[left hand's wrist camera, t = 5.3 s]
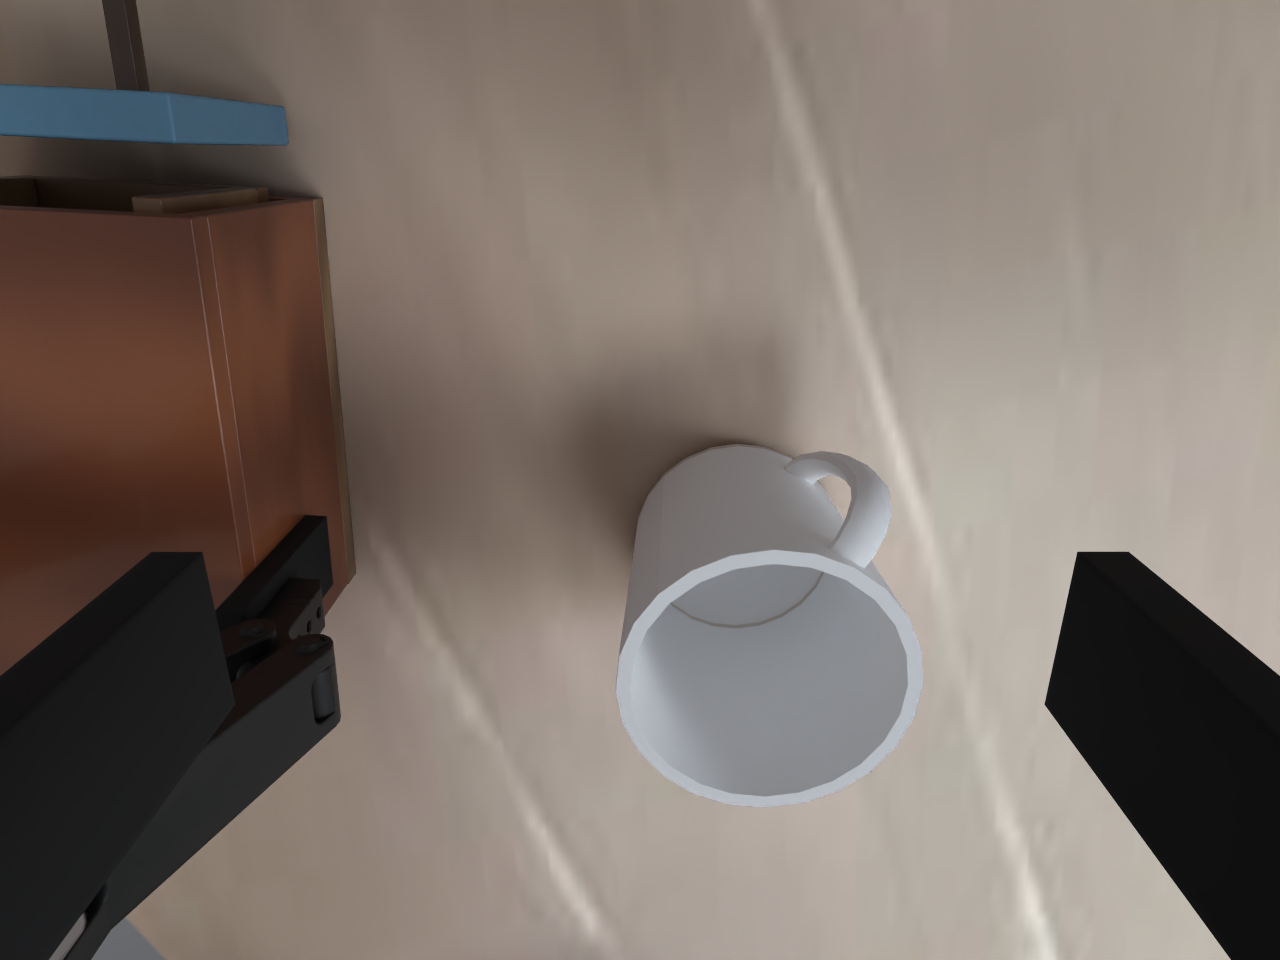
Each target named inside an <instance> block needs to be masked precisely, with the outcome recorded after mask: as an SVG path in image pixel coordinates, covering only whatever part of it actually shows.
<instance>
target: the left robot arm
mask: <svg viewBox="0 0 1280 960" xmlns="http://www.w3.org/2000/svg"><path fill="white" fill-rule="evenodd" d="M234 706H235V701H234V696H233V691H232V687H231V682H230V677H229V673H228V668H227V664H226V659H225V654H224V650H223V645H222V640H221V636H220V631H219V626H218V622H217V617H216V612H215V608H214V603H213V598H212V594H211V589H210V584H209V580H208V575H207V571H206V566H205V561H204V557H203V552H151V553H149V554H148V555H147V556H146V557H145V558H143V559H142V560H141V561H140V562H138V563H137V564H136V565H135V566H134V567H132V568H131V569H130V570H129V571H128V572H126V573H125V574H124V575H123V576H121V577H120V578H119V579H118V580H117V581H115V582H114V583H113V584H112V585H110V586H109V587H108V588H107V589H106V590H104V591H103V592H102V593H101V594H99V595H98V596H97V597H96V598H95V599H93V600H92V601H91V602H90V603H89V604H87V605H86V606H85V607H84V608H82V609H81V610H80V611H79V612H78V613H76V614H75V615H74V616H73V617H71V618H70V619H69V620H68V621H67V622H65V623H64V624H63V625H62V626H61V627H59V628H58V629H57V630H56V631H54V632H53V633H52V634H51V635H50V636H48V637H47V638H46V639H45V640H43V641H42V642H41V643H40V644H39V645H37V646H36V647H35V648H34V649H33V650H31V651H30V652H29V653H28V654H26V655H25V656H24V657H23V658H22V659H20V660H19V661H18V662H17V663H15V664H14V665H13V666H12V667H11V668H9V669H8V670H7V671H6V672H5V673H3V674H2V675H1V676H0V960H49V959H50V958H51V956H52V955H53V953H54V952H55V951H56V949H57V948H58V947H59V945H60V944H61V942H62V941H63V940H64V938H65V937H66V936H67V934H68V933H69V932H70V930H71V929H72V927H73V926H74V925H75V923H76V922H77V921H78V919H79V918H80V916H81V915H82V914H83V912H84V911H85V910H86V908H87V907H88V906H89V904H90V903H91V901H92V900H93V899H94V897H95V896H96V895H97V893H98V892H99V890H100V889H101V888H102V886H103V885H104V884H105V882H106V881H107V880H108V878H109V877H110V875H111V874H112V873H113V871H114V870H115V869H116V867H117V866H118V864H119V863H120V862H121V860H122V859H123V858H124V856H125V855H126V854H127V852H128V851H129V849H130V848H131V847H132V845H133V844H134V843H135V841H136V840H137V838H138V837H139V836H140V834H141V833H142V832H143V830H144V829H145V828H146V826H147V825H148V823H149V822H150V821H151V819H152V818H153V817H154V815H155V814H156V812H157V811H158V810H159V808H160V807H161V806H162V804H163V803H164V802H165V800H166V799H167V797H168V796H169V795H170V793H171V792H172V791H173V789H174V788H175V786H176V785H177V784H178V782H179V781H180V780H181V778H182V777H183V776H184V774H185V773H186V771H187V770H188V769H189V767H190V766H191V765H192V763H193V762H194V760H195V759H196V758H197V756H198V755H199V754H200V752H201V751H202V749H203V748H204V747H205V745H206V744H207V743H208V741H209V740H210V739H211V737H212V736H213V734H214V733H215V732H216V730H217V729H218V728H219V726H220V725H221V723H222V722H223V721H224V719H225V718H226V717H227V715H228V714H229V713H230V711H231V710H232V708H233V707H234ZM1045 706H1046V707H1047V708H1048V710H1049V711H1050V713H1051V714H1052V715H1053V717H1054V718H1055V719H1056V721H1057V722H1058V723H1059V725H1060V726H1061V728H1062V729H1063V730H1064V732H1065V733H1066V734H1067V736H1068V737H1069V739H1070V740H1071V741H1072V743H1073V744H1074V745H1075V747H1076V748H1077V749H1078V751H1079V752H1080V754H1081V755H1082V756H1083V758H1084V759H1085V760H1086V762H1087V763H1088V765H1089V766H1090V767H1091V769H1092V770H1093V771H1094V773H1095V774H1096V776H1097V777H1098V778H1099V780H1100V781H1101V782H1102V784H1103V785H1104V786H1105V788H1106V789H1107V791H1108V792H1109V793H1110V795H1111V796H1112V797H1113V799H1114V800H1115V802H1116V803H1117V804H1118V806H1119V807H1120V808H1121V810H1122V811H1123V812H1124V814H1125V815H1126V817H1127V818H1128V819H1129V821H1130V822H1131V823H1132V825H1133V826H1134V828H1135V829H1136V830H1137V832H1138V833H1139V834H1140V836H1141V837H1142V838H1143V840H1144V841H1145V843H1146V844H1147V845H1148V847H1149V848H1150V849H1151V851H1152V852H1153V854H1154V855H1155V856H1156V858H1157V859H1158V860H1159V862H1160V863H1161V864H1162V866H1163V867H1164V869H1165V870H1166V871H1167V873H1168V874H1169V875H1170V877H1171V878H1172V880H1173V881H1174V882H1175V884H1176V885H1177V886H1178V888H1179V889H1180V890H1181V892H1182V893H1183V895H1184V896H1185V897H1186V899H1187V900H1188V901H1189V903H1190V904H1191V906H1192V907H1193V908H1194V910H1195V911H1196V912H1197V914H1198V915H1199V916H1200V918H1201V919H1202V921H1203V922H1204V923H1205V925H1206V926H1207V927H1208V929H1209V930H1210V932H1211V933H1212V934H1213V936H1214V937H1215V938H1216V940H1217V941H1218V942H1219V944H1220V945H1221V947H1222V948H1223V949H1224V951H1225V952H1226V953H1227V955H1228V956H1229V958H1230V959H1231V960H1280V676H1279V675H1278V674H1277V673H1275V672H1274V671H1273V670H1272V669H1271V668H1269V667H1268V666H1267V665H1266V664H1265V663H1263V662H1262V661H1261V660H1260V659H1258V658H1257V657H1256V656H1255V655H1254V654H1252V653H1251V652H1250V651H1249V650H1247V649H1246V648H1245V647H1244V646H1243V645H1241V644H1240V643H1239V642H1238V641H1237V640H1235V639H1234V638H1233V637H1232V636H1230V635H1229V634H1228V633H1227V632H1226V631H1224V630H1223V629H1222V628H1221V627H1219V626H1218V625H1217V624H1216V623H1215V622H1213V621H1212V620H1211V619H1210V618H1209V617H1207V616H1206V615H1205V614H1204V613H1202V612H1201V611H1200V610H1199V609H1198V608H1196V607H1195V606H1194V605H1193V604H1191V603H1190V602H1189V601H1188V600H1187V599H1185V598H1184V597H1183V596H1182V595H1181V594H1179V593H1178V592H1177V591H1176V590H1174V589H1173V588H1172V587H1171V586H1170V585H1168V584H1167V583H1166V582H1165V581H1163V580H1162V579H1161V578H1160V577H1159V576H1157V575H1156V574H1155V573H1154V572H1152V571H1151V570H1150V569H1149V568H1148V567H1146V566H1145V565H1144V564H1143V563H1142V562H1140V561H1139V560H1138V559H1137V558H1135V557H1134V556H1133V555H1132V554H1131V553H1129V552H1077V557H1076V561H1075V566H1074V571H1073V575H1072V580H1071V584H1070V589H1069V594H1068V598H1067V603H1066V608H1065V612H1064V617H1063V622H1062V626H1061V631H1060V636H1059V640H1058V645H1057V650H1056V654H1055V659H1054V663H1053V668H1052V673H1051V677H1050V682H1049V687H1048V691H1047V696H1046V701H1045Z"/></svg>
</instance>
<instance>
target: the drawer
mask: <svg viewBox="0 0 1280 960" xmlns="http://www.w3.org/2000/svg"><path fill="white" fill-rule="evenodd" d="M102 3H103V9H104V15H105V21H106V27H107V33H108V39H109V45H110V51H111V57H112V63H113V69H114V75H115V80H116V86H117V90H113V89H93V88H73V87H53V86H34V85H14V84H0V135H6V136H26V137H46V138H66V139H86V140H106V141H126V142H146V143H166V144H213V145H281V146H286V145H288V133H287V123H286V113H285V108H284V107H282V106H275V105H267V104H259V103H251V102H243V101H234V100H226V99H218V98H210V97H202V96H193V95H185V94H177V93H169V92H152V91H150V90H149V84H148V77H147V71H146V64H145V58H144V51H143V45H142V38H141V32H140V25H139V19H138V12H137V6H136V0H102ZM263 202H269V194H268V188H266V187H250V186H229V185H209V184H189V183H169V182H149V181H129V180H109V179H89V178H69V177H49V176H28V175H27V176H4V177H0V205H4V206H24V207H44V208H64V209H85V210H105V211H125V212H145V213H165V214H181V213H188V212H196V211H203V210H210V209H218V208H225V207H233V206H240V205H248V204H255V203H263Z"/></svg>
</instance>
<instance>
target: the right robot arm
mask: <svg viewBox="0 0 1280 960" xmlns="http://www.w3.org/2000/svg"><path fill="white" fill-rule="evenodd" d="M333 584H334V583H333V574H332V564H331V554H330V544H329V534H328V524H327V516H317V515H305V516H304V517H303V518H302V519H301V520H300V521H299V522H298V523H297V524H296V526H295V527H294V528H293V529H292V530H291V531H290V532H289V533H288V534H287V535H286V536H285V537H284V538H283V539H282V540H281V542H280V543H279V544H278V545H277V546H276V547H275V548H274V549H273V550H272V551H271V552H270V553H269V554H268V555H267V556H266V558H265V559H264V560H263V561H262V562H261V563H260V564H259V565H258V566H257V567H256V568H255V569H254V570H253V571H252V572H251V573H250V575H249V576H248V577H247V578H246V579H245V580H243V581H242V582H241V584H240V585H239V586H238V587H237V588H236V589H235V590H234V591H233V592H232V593H231V594H230V595H229V596H228V597H227V598H226V599H225V601H224V602H223V603H222V604H221V605H220V606H219V607H218V608H217V609H216V610H215V612H216V617H217V622H218V626H219V631H220V636H221V640H222V645H223V650H224V654H225V659H226V664H227V668H228V673H229V677H230V682H231V687H232V691H233V696H234V701H235V706H234V707H233V708H232V710H231V711H230V713H229V714H228V715H227V717H226V718H225V719H224V721H223V722H222V723H221V725H220V726H219V728H218V729H217V730H216V732H215V733H214V734H213V736H212V737H211V739H210V740H209V741H208V743H207V744H206V745H205V747H204V748H203V749H202V751H201V752H200V754H199V755H198V756H197V758H196V759H195V760H194V762H193V763H192V765H191V766H190V767H189V769H188V770H187V771H186V773H185V774H184V776H183V777H182V778H181V780H180V781H179V782H178V784H177V785H176V786H175V788H174V789H173V791H172V792H171V793H170V795H169V796H168V797H167V799H166V800H165V802H164V803H163V804H162V806H161V807H160V808H159V810H158V811H157V812H156V814H155V815H154V817H153V818H152V819H151V821H150V822H149V823H148V825H147V826H146V828H145V829H144V830H143V832H142V833H141V834H140V836H139V837H138V838H137V840H136V841H135V843H134V844H133V845H132V847H131V848H130V849H129V851H128V852H127V854H126V855H125V856H124V858H123V859H122V860H121V862H120V863H119V864H118V866H117V867H116V869H115V870H114V871H113V873H112V874H111V875H110V877H109V878H108V880H107V881H106V882H105V884H104V885H103V886H102V888H101V889H100V890H99V892H98V893H97V895H96V896H95V897H94V899H93V900H92V901H91V903H90V904H89V906H88V907H87V908H86V910H85V911H84V912H83V914H82V915H81V916H80V918H79V919H78V921H77V922H76V923H75V925H74V926H73V927H72V929H71V930H70V932H69V933H68V934H67V936H66V937H65V938H64V940H63V941H62V942H61V944H60V945H59V947H58V948H57V949H56V951H55V952H54V953H53V955H52V956H51V958H50V959H49V960H91V959H92V957H93V956H94V954H95V953H96V951H97V950H98V948H99V947H100V945H101V944H102V942H103V941H104V939H105V938H106V936H107V935H108V933H109V932H110V930H111V929H112V928H113V927H114V926H116V925H117V924H118V923H119V922H120V921H121V920H122V919H123V918H124V917H126V916H127V915H128V914H129V913H130V912H131V911H132V910H133V909H134V908H136V907H137V906H138V905H139V904H140V903H141V902H142V901H143V900H144V899H145V898H147V897H148V896H149V895H150V894H151V893H152V892H153V891H154V890H155V889H157V888H158V887H159V886H160V885H161V884H162V883H163V882H164V881H165V880H166V879H168V878H169V877H170V876H171V875H172V874H173V873H174V872H175V871H176V870H178V869H179V868H180V867H181V866H182V865H183V864H184V863H185V862H186V861H187V860H189V859H190V858H191V857H192V856H193V855H194V854H195V853H196V852H197V851H199V850H200V849H201V848H202V847H203V846H204V845H205V844H206V843H207V842H208V841H210V840H211V839H212V838H213V837H214V836H215V835H216V834H217V833H218V832H220V831H221V830H222V829H223V828H224V827H225V826H226V825H227V824H228V823H229V822H231V821H232V820H233V819H234V818H235V817H236V816H237V815H238V814H239V813H241V812H242V811H243V810H244V809H245V808H246V807H247V806H248V805H249V804H250V803H252V802H253V801H254V800H255V799H256V798H257V797H258V796H259V795H260V794H262V793H263V792H264V791H265V790H266V789H267V788H268V787H269V786H270V785H271V784H273V783H274V782H275V781H276V780H277V779H278V778H279V777H280V776H281V775H283V774H284V773H285V772H286V771H287V770H288V769H289V768H290V767H291V766H293V765H294V764H295V763H296V762H297V761H298V760H299V759H300V758H301V757H302V756H304V755H305V754H306V753H307V752H308V751H309V750H310V749H311V748H312V747H314V746H315V745H316V744H317V743H318V742H319V741H320V740H321V739H322V738H323V737H325V736H326V735H327V734H328V733H329V732H330V731H331V730H332V729H333V728H335V727H336V725H337V724H338V723H339V722H340V718H341V713H340V703H339V694H338V684H337V674H336V665H335V656H334V646H333V641H332V639H331V638H330V637H328V636H326V635H323V634H320V633H321V631H322V630H323V628H324V627H325V619H324V610H323V600H322V599H323V598H324V596H325V595H326V594H327V592H328V591H329V589H330V588H331V587H332V585H333Z"/></svg>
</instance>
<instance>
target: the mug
mask: <svg viewBox="0 0 1280 960" xmlns="http://www.w3.org/2000/svg"><path fill="white" fill-rule="evenodd" d="M825 476H838V477H840V478H842V479H843V480H845V481H846V482H847V483H848V485H849V486H850V487H851V503H850V506H849V509H848V513H847V516H846V519H845V520H844V518H843V517H842V515H841V514H840V512H839V511H838V509H837V508H836V506H835V505H834V503H833V502H832V500H831V498H830V497H829V495H828V494H827V493H826V491H825V489H824V488H823V487H822V485H821V484H820V483H819V482H818V480H819V479H821V478H823V477H825ZM891 515H892V512H891V502H890V493H889V489H888V486H887V485H886V484H885V483H884V481H883V480H882V479H881V478H880V477H879V475H878V474H877V473H876V472H875V471H874V470H872V469H871V468H870V467H869V466H868V465H866V464H864V463H862V462H860V461H858V460H856V459H854V458H852V457H850V456H847V455H843V454H840V453H833V452H825V451H819V452H814V453H808V454H803V455H800V456H798V457H797V458H795V459H793V458H792V457H790V456H789V455H786V454H783V453H781V452H778V451H775V450H773V449H770V448H767V447H765V446H756V445H746V444H731V445H724V446H717V447H711V448H708V449H705V450H703V451H700V452H698V453H696V454H693V455H691V456H688V457H686V458H684V459H683V460H681V461H680V462H679V463H677V464H676V465H675V466H673V467H672V468H671V469H669V470H668V471H667V472H665V473H664V474H663V475H662V477H661V478H660V479H659V480H658V482H657V483H656V484H655V485H654V487H653V488H652V489H651V491H650V492H649V493H648V495H647V497H646V500H645V502H644V504H643V507H642V509H641V512H640V514H639V516H638V525H637V532H636V539H635V546H634V553H633V560H632V567H631V574H630V581H629V588H628V595H627V602H626V610H625V617H624V624H623V631H622V638H621V645H620V652H619V661H618V670H617V680H616V694H617V698H618V703H619V708H620V713H621V718H622V723H623V724H624V726H625V728H626V730H627V732H628V733H629V735H630V737H631V739H632V741H633V743H634V744H635V746H636V748H637V750H638V752H639V753H640V754H641V755H642V756H643V757H644V758H645V759H646V760H647V761H648V762H649V763H650V764H651V765H652V766H653V767H654V768H655V769H656V770H657V771H658V772H659V773H660V774H661V775H662V776H664V777H666V778H668V779H669V780H671V781H673V782H674V783H676V784H678V785H679V786H681V787H683V788H685V789H686V790H688V791H690V792H691V793H693V794H696V795H700V796H703V797H706V798H709V799H712V800H716V801H719V802H722V803H725V804H731V805H742V806H753V807H773V806H782V805H790V804H799V803H804V802H807V801H810V800H813V799H816V798H819V797H822V796H825V795H828V794H831V793H834V792H837V791H839V790H841V789H842V788H844V787H846V786H848V785H849V784H851V783H853V782H854V781H856V780H858V779H859V778H861V777H863V776H864V775H866V774H868V773H869V772H871V771H872V770H873V769H874V768H875V767H876V766H877V765H878V764H879V763H880V762H881V761H882V760H883V759H884V758H885V757H886V756H887V755H888V754H889V753H890V752H891V751H892V750H893V749H895V748H896V746H897V744H898V743H899V741H900V740H901V738H902V736H903V735H904V733H905V731H906V730H907V728H908V727H909V725H910V723H911V722H912V720H913V718H914V716H915V712H916V709H917V705H918V701H919V698H920V694H921V690H922V687H923V672H922V651H921V648H920V645H919V643H918V640H917V637H916V635H915V632H914V629H913V627H912V624H911V622H910V619H909V617H908V615H907V613H906V611H905V610H904V608H903V607H902V605H901V604H900V602H899V601H898V599H897V598H896V596H895V595H894V593H893V592H892V590H891V589H890V587H889V586H888V584H887V583H886V581H885V580H884V578H883V577H882V575H881V574H880V572H879V571H878V569H877V568H876V566H875V565H874V563H873V562H872V558H873V557H874V555H875V554H876V552H877V550H878V548H879V546H880V544H881V543H882V541H883V539H884V537H885V535H886V532H887V528H888V525H889V522H890V518H891Z"/></svg>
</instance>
